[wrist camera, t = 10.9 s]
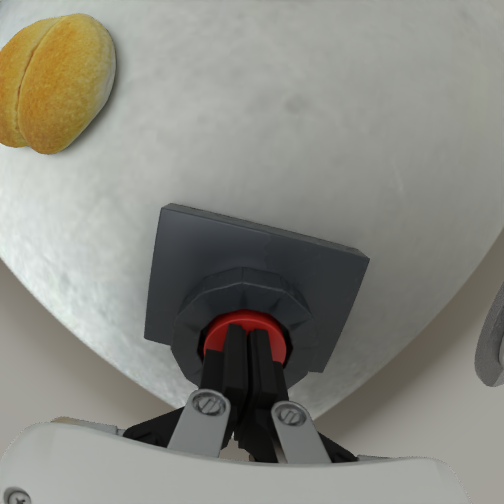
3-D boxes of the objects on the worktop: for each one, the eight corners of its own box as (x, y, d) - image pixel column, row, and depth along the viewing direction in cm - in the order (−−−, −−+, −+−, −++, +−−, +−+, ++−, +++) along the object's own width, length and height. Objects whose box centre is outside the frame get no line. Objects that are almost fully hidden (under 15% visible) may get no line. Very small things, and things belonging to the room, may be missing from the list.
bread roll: (96, 162, 13) (53, 165, 9) (-3, 141, 12) (-44, 142, 8) (147, 22, 11) (122, -12, 7) (37, 26, 10) (3, 8, 6)
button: (291, 308, 13) (297, 327, 12) (270, 367, 14) (273, 389, 13) (215, 292, 13) (211, 310, 11) (202, 354, 14) (197, 375, 12)
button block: (358, 248, 15) (387, 271, 11) (309, 371, 17) (321, 410, 14) (170, 202, 14) (147, 213, 10) (150, 340, 16) (133, 376, 13)
